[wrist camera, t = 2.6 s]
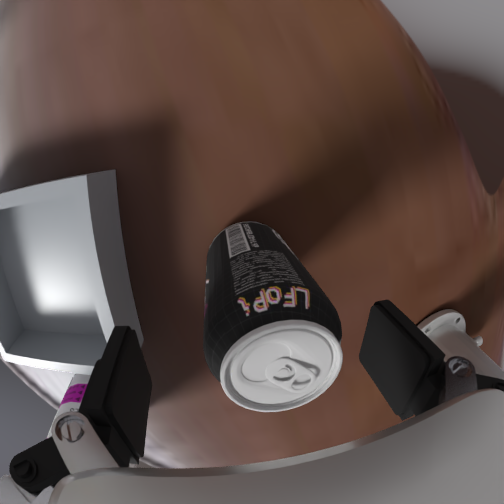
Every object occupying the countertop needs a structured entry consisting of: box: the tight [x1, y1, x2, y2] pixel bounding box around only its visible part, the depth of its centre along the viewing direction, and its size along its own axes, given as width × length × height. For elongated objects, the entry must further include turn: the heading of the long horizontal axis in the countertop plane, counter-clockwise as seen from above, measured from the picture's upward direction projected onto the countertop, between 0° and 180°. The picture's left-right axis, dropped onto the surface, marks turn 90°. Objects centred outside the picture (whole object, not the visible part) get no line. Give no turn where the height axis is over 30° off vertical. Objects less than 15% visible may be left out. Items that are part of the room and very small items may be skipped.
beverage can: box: [203, 222, 343, 412], centre depth 15 cm, size 6×6×12 cm
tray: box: [0, 169, 144, 375], centre depth 16 cm, size 14×14×5 cm
